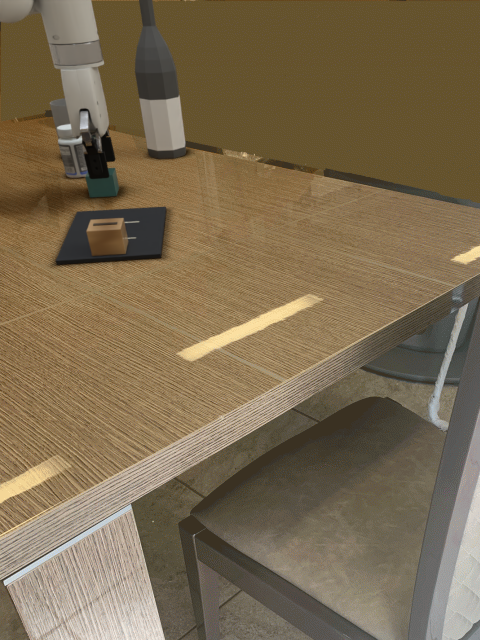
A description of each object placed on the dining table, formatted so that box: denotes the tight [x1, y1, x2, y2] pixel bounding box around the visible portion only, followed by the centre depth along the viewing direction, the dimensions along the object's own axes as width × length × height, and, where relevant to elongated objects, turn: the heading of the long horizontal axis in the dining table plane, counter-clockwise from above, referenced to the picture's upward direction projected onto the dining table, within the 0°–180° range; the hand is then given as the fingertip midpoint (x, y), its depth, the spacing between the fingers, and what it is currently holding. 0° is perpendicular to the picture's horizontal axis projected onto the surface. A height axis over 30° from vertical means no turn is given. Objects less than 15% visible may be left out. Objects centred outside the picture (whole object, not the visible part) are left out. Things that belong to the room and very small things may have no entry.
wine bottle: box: [134, 0, 187, 160], centre depth 123 cm, size 8×8×30 cm
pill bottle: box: [56, 124, 88, 179], centre depth 118 cm, size 5×5×8 cm
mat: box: [55, 206, 167, 266], centre depth 95 cm, size 14×20×1 cm
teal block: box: [84, 167, 120, 198], centre depth 111 cm, size 4×4×4 cm
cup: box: [49, 97, 70, 139], centre depth 128 cm, size 8×8×10 cm
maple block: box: [86, 218, 128, 256], centre depth 89 cm, size 4×4×4 cm
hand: (103, 169), depth 109 cm, fingers open, 9 cm apart
